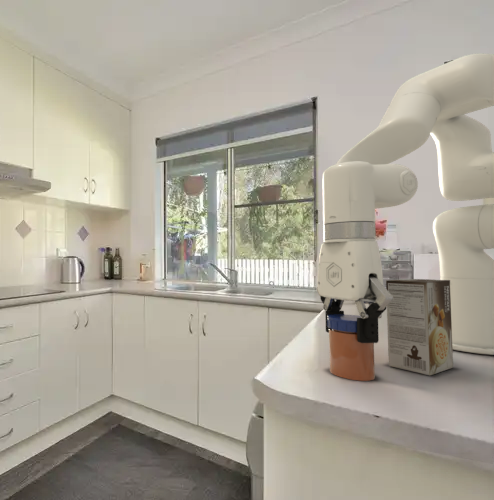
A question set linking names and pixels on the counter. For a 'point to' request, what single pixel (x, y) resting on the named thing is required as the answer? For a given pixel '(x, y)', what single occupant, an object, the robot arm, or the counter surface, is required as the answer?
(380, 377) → the counter surface
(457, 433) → the counter surface
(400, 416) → the counter surface
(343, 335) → the jar
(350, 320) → the lid
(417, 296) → the coffee box
